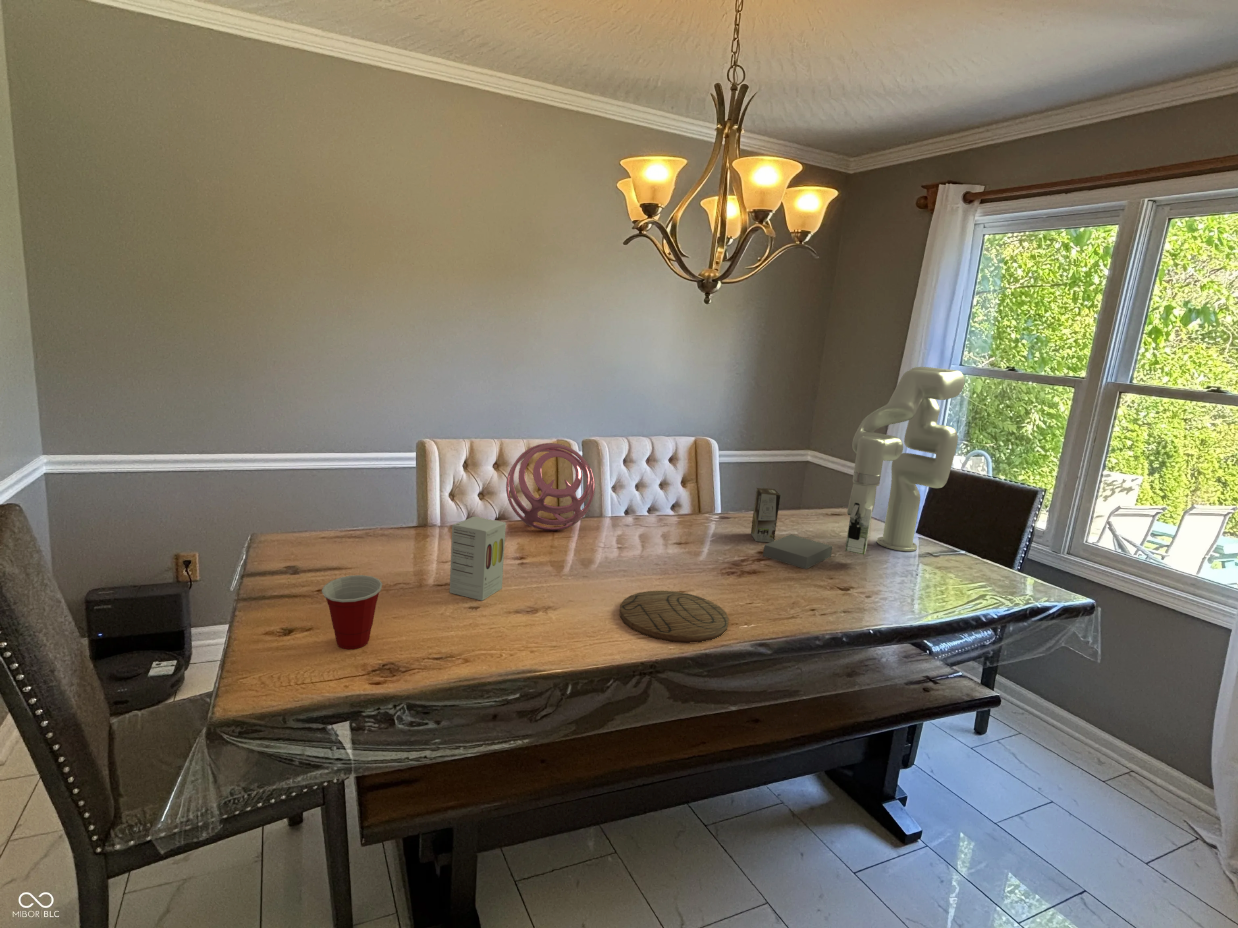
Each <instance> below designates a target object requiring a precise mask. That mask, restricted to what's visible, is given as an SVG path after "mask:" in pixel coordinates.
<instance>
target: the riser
mask: <svg viewBox="0 0 1238 928" xmlns="http://www.w3.org/2000/svg"><path fill="white" fill-rule="evenodd" d="M832 551H833V545H830V544H827V543H823V542H820V541H816V540H814V539H813V540H812V539H808V538H806V537H803V536H798V535H795V534H788V535H786V536H784V537H781V538H779V539H774V541H773V542H767V543H766V544H764V545H763V552H762V553H763V555H762V556H763V557H765V558H769V559H771V560H775V561H778V562H781V563H785V564H787V565H788V564H789V565H791V566H793V567H798V568H799V569H800V568H801V569H804V570H806V569H809V568H811V567H813V566H815V565H817V564H819V563H822V562H823V561H825V560H827V559H829V558H831V557H832Z"/></svg>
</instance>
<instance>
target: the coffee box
mask: <svg viewBox="0 0 1238 928" xmlns="http://www.w3.org/2000/svg"><path fill="white" fill-rule="evenodd" d="M754 497H755V498H754V506H753V510H752V511H753V513H752V519H751V520H752V521H751V528H750V529H751V530H750V534H751V536H752V538H753V540H754V541H755V542H758V543H759V542H762V543H770V542H773V541H775V537H776V536H775V535H776V529H777V521H778V515H779V509H780V508H779V507H780V503H781V502H780V501H781V494H780V493H779V492H778V491H777V490H776V489H775V488H769V487H768V488H765V487H763V488H762V487H756V488H755V496H754Z"/></svg>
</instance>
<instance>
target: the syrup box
mask: <svg viewBox="0 0 1238 928" xmlns="http://www.w3.org/2000/svg"><path fill="white" fill-rule="evenodd" d="M872 510H873V511H874V509H873V506H871V507H869V508H868V509H867V512H866V515H865V517H864V518H862V521H861V524H860V527H861V531H860V538H859V540H854V539H851V538H848V533H849V526H850V520H849V522H848V523H849V524H848V526H847V527H848V528H847V535H846V536H847V537H846V542H845V549H844V551H845V552H849V553H853V554H858V555H863V556H864V555H865V554H866V551H867V547H868V540H869V533H870V528H871V521H872V516H873V512H872ZM850 515H851V514H850ZM850 515H849V516H850ZM856 516H860V515H859V514H857V515H856ZM856 519H857V518H856ZM858 520H859V519H857V521H858Z"/></svg>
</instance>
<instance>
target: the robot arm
mask: <svg viewBox="0 0 1238 928" xmlns="http://www.w3.org/2000/svg"><path fill="white" fill-rule="evenodd" d="M965 381H966V380H965V376H964V374H963V372H961V371H960V370H957V369H950V368H949V369H948V368H938V367H931V366H915V367H912V368H911V369H909V370H907V371H905V372H904V373H903V375H902V376H901V378H900V380H899V382H898V383H897V384H896V387H895V389H894V391H893V393H892V395H891V397H890V398H889V401H888V402H887V403H886V404H885V405H883V406H882V407H881V406H880V407H879V408H878V409H875V410H874V411H872V412H871V413H869V414H868V415H867V416H866V417H864V418H863V419H862V420H861V422H860V424H859V426H858V427H857V430H856V432H855V433H854V436H853V439H852V442H851V444H852V445H851V446H852V447H851V448H852V450H853V451H854V453H855V454H856V455H855V461H854V468H853V474H852V483H853V484H852V487H851V491H850V496H849V501H848V506H847V511H846V514H847V516H849V521H850V526H849V525H848V527H849V533H848V532H847V534H848V538H851V539H854V540H859V538H860V531H861V527H860V524H861V521H862V518H864V517H865V515H866V512H867V509H868V508H869V507H871V506H873V510H872V513H873V512H874V509H875V504H876V495H877V487H878V486H880V482H881V475H882V468H883V463H884V461H885V462H891V472H890V473H891V483H890V492H889V498H888V504H887V509H886V515H885V521H884V528H883V533H882V536H879V537H878V538H877V539H876V542H877V543H878V545H880V546H881V547H883V548H887V549H890V550H895V551H899V552H900V551H901V552H914V551H916V550H917V548H918V545H917V544H916V543H915V542H914V537H915V532H916V527H917V526H916V525H917V521H918V515H919V510H920V503H921V494H920V491H919V489H918V486H919V485H920V486H922V487H923V486H924V487H928V488H933V489H941V488H943V487H944V486H945V485H946V484H947V482H948V479H949V477H950V473H951V469H952V465H953V461H954V459H955V455H956V450H957V446H958V442H959V441H958V439H959V436H958V432H957V430H956V429H955V428H954V427H952V426H950V425H943V424H938V420H939V416H940V411H941V409H940V405H939V403H938V400H939V401H945V400H950V399H954V398H956V397H958V396H959V395H961V392H962V391H963V389H964V387H965ZM903 422H908V423H907V427H906V430H905V433H904V438H903V440H904V441H902V439H901V438H899V437H897V436H895V435H891V434H884V433H880V432H879V433H878V432H875V431H876V430H879V429H880V428H883V427H887V426H891V425H895V424H896V425H897V424H900V423H903ZM903 442H904V444H903ZM904 445H905V447H906V448H907V449H910V450H913V451H918V452H923V453H928V454H932V455H933V454H934V455H936V456H935V457H932V456H927V455H921V454H916V453H909V452H903V451H904ZM917 485H918V486H917ZM850 514H851V515H850ZM857 514H859V515H860V516H856V515H857ZM856 518H857V519H859V520H858V521H857V519H856Z"/></svg>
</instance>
